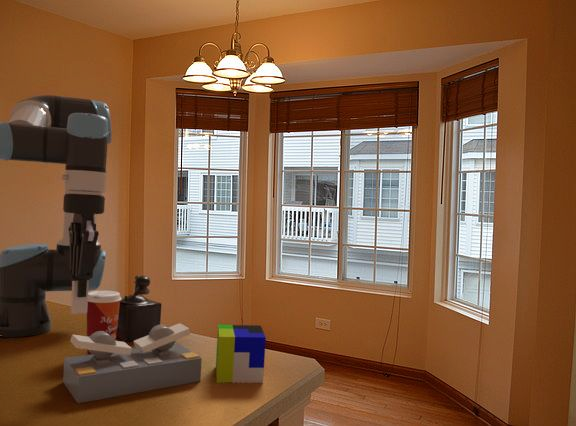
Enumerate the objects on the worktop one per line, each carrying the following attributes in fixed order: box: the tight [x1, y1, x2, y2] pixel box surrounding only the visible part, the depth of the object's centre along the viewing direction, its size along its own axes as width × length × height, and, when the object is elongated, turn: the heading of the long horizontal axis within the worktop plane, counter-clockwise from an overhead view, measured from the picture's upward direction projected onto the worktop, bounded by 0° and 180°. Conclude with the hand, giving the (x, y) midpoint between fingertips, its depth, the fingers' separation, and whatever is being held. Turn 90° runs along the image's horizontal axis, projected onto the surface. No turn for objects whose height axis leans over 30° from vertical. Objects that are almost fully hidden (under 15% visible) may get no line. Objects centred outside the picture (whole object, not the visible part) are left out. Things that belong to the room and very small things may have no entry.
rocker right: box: [133, 323, 191, 353], centre depth 110 cm, size 5×11×5 cm, turn 126°
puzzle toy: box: [215, 324, 267, 384], centre depth 114 cm, size 10×10×10 cm
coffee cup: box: [86, 290, 123, 355], centre depth 121 cm, size 8×8×15 cm
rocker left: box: [69, 331, 133, 359], centre depth 103 cm, size 5×11×5 cm, turn 126°
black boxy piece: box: [116, 275, 162, 342], centre depth 137 cm, size 16×11×18 cm
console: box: [62, 342, 202, 404], centre depth 106 cm, size 12×25×6 cm, turn 126°
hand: (79, 312), depth 99 cm, fingers closed
